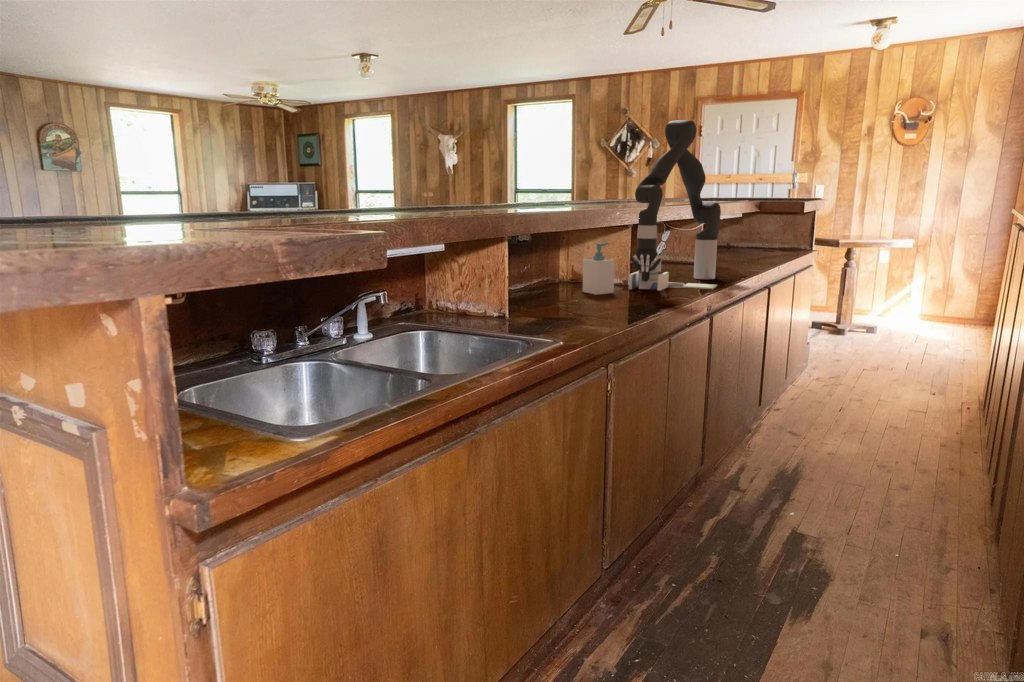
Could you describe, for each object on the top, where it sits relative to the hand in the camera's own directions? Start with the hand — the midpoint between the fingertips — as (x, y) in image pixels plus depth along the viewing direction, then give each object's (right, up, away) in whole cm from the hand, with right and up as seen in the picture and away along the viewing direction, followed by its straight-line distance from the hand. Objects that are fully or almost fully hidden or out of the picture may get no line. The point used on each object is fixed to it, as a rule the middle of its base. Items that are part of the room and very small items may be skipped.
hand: (645, 281), depth 270 cm
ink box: (+2, -3, +5) cm, 6 cm away
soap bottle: (-19, -5, -5) cm, 21 cm away
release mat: (+24, -2, +8) cm, 25 cm away
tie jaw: (+7, -3, +2) cm, 8 cm away
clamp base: (+5, -3, +4) cm, 7 cm away
